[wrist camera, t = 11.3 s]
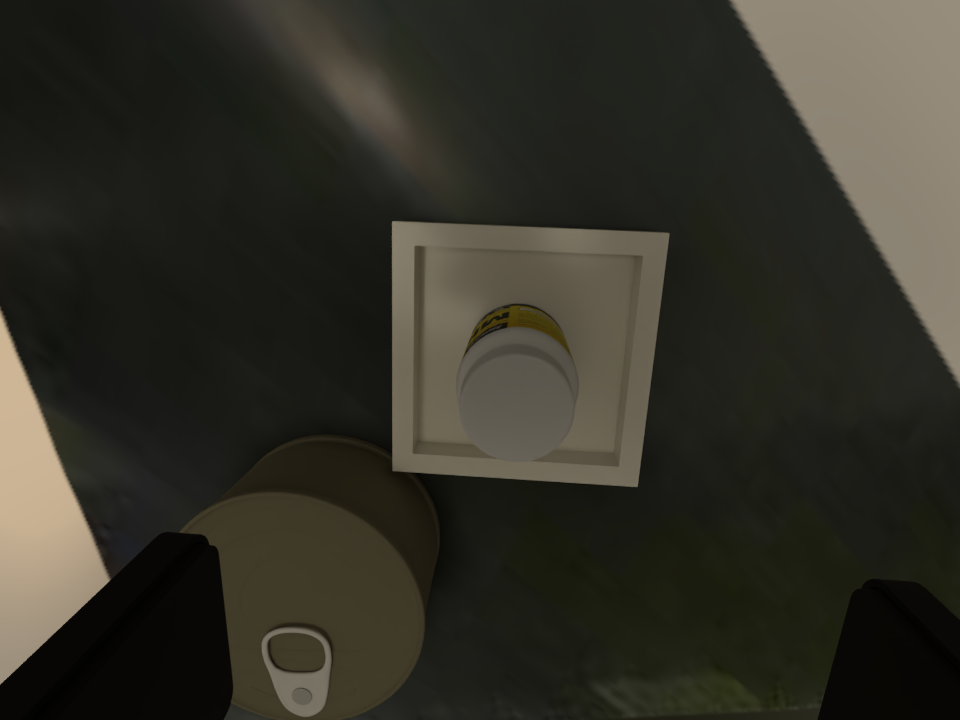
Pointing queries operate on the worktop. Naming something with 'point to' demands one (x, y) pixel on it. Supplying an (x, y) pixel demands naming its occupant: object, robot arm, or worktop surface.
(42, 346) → the worktop surface
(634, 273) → the tray
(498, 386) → the supplement bottle
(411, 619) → the can
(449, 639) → the worktop surface
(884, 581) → the robot arm
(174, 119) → the worktop surface
